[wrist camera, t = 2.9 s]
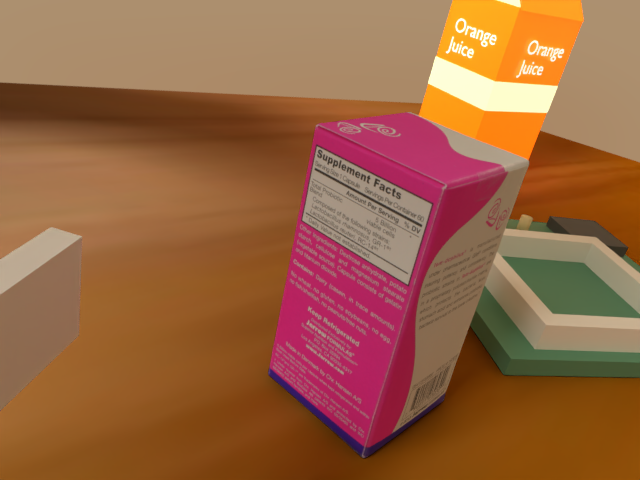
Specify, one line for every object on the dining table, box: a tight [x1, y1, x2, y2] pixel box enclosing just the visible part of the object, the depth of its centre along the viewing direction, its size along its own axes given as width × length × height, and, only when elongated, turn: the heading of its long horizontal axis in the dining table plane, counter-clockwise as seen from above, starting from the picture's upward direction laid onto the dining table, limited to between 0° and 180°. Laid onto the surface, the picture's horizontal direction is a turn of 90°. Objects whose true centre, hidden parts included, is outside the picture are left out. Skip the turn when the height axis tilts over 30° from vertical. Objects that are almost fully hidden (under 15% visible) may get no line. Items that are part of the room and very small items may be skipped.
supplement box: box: [268, 112, 529, 458], centre depth 24 cm, size 6×6×12 cm
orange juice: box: [419, 0, 583, 160], centre depth 56 cm, size 8×9×20 cm
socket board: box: [470, 215, 640, 378], centre depth 38 cm, size 16×16×2 cm
